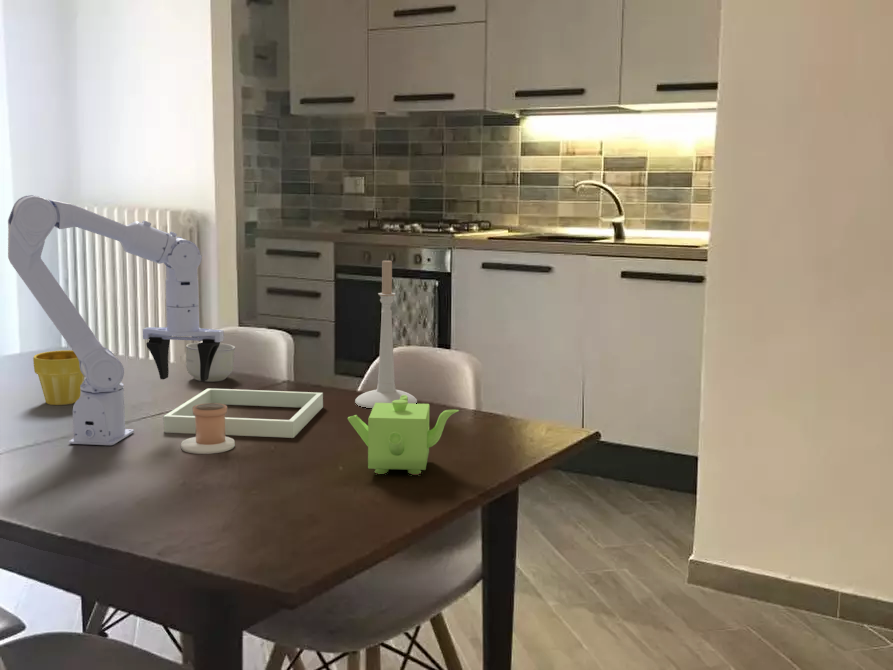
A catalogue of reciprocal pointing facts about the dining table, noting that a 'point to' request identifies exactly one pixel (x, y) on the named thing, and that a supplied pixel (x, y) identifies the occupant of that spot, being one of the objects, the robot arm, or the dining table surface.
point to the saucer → (206, 446)
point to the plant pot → (59, 376)
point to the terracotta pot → (210, 423)
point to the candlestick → (385, 351)
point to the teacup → (220, 363)
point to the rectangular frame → (308, 401)
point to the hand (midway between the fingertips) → (184, 379)
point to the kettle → (399, 435)
